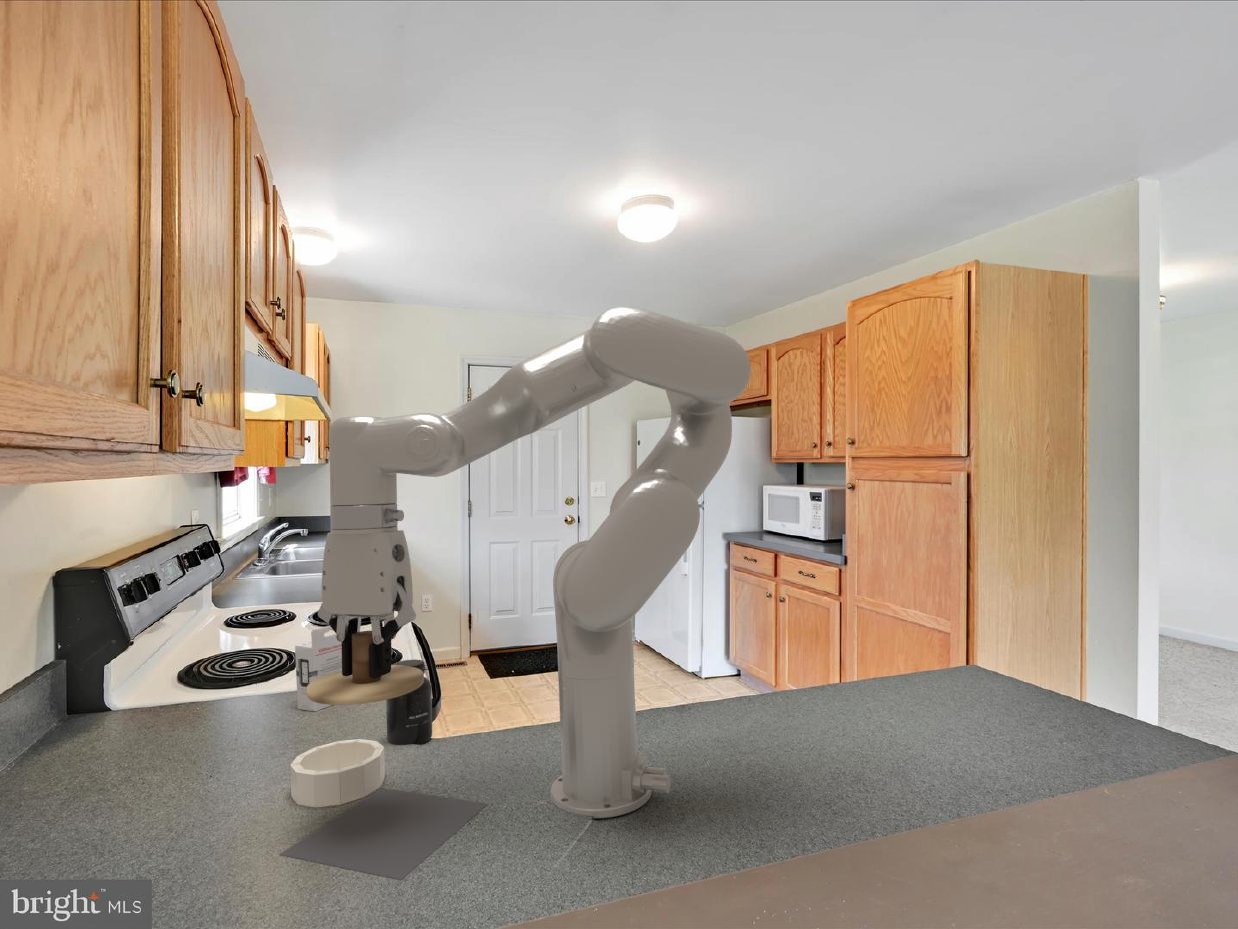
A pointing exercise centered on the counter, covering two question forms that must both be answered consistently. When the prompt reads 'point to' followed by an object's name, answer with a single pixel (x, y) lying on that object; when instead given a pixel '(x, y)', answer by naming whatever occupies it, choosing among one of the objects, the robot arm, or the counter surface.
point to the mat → (386, 833)
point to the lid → (363, 679)
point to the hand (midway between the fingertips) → (366, 672)
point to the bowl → (337, 773)
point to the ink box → (316, 664)
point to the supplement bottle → (410, 712)
